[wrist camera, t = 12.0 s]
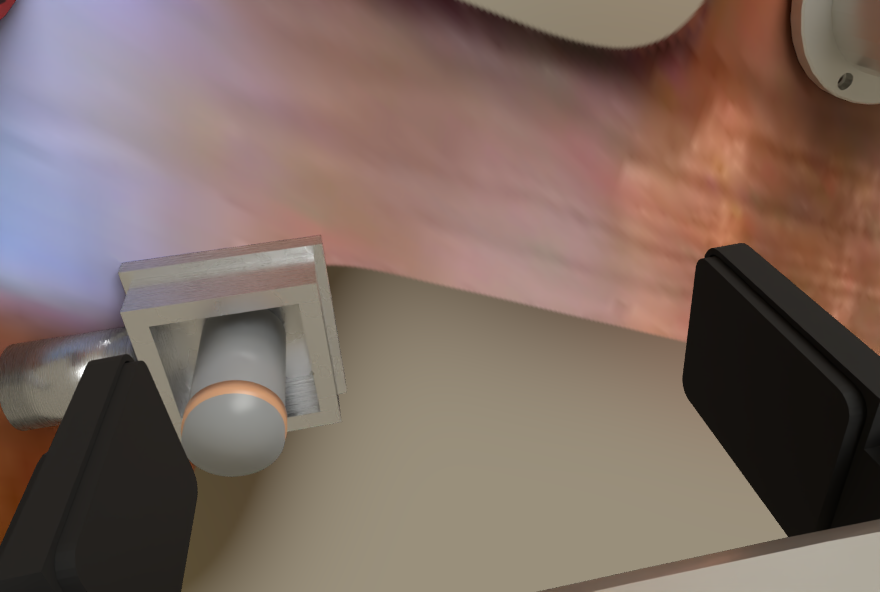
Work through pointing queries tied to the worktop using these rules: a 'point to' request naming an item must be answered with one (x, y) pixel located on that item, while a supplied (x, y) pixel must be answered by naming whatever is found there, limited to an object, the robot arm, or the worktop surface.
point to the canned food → (5, 7)
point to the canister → (237, 395)
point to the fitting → (194, 332)
